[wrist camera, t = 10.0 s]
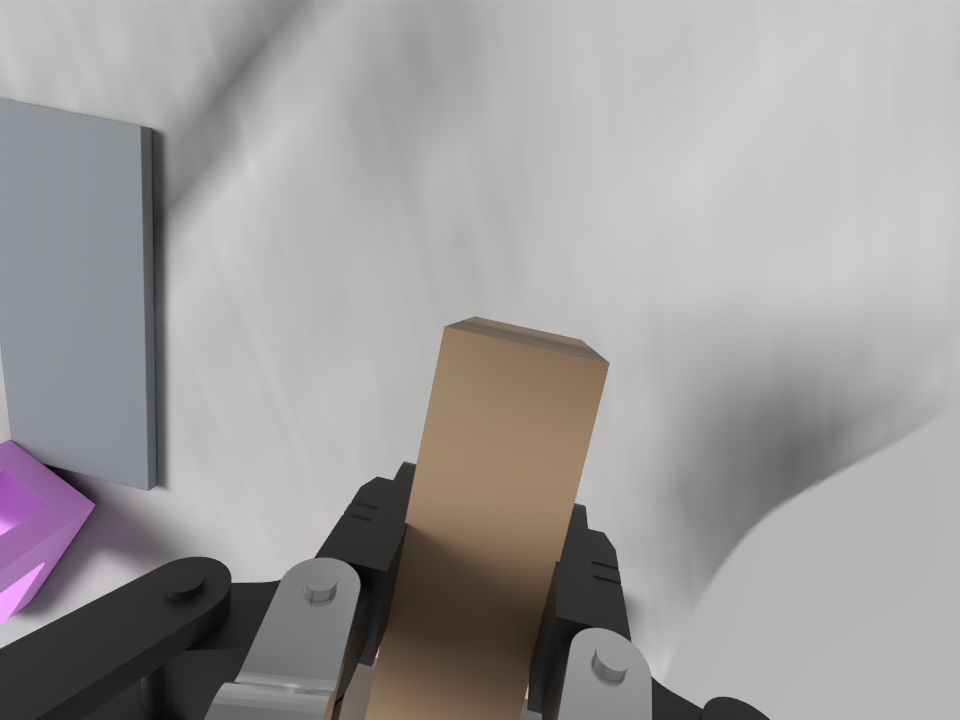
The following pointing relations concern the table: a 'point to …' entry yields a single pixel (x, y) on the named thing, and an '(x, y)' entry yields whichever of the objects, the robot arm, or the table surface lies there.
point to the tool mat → (78, 291)
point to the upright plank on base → (483, 525)
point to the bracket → (32, 525)
